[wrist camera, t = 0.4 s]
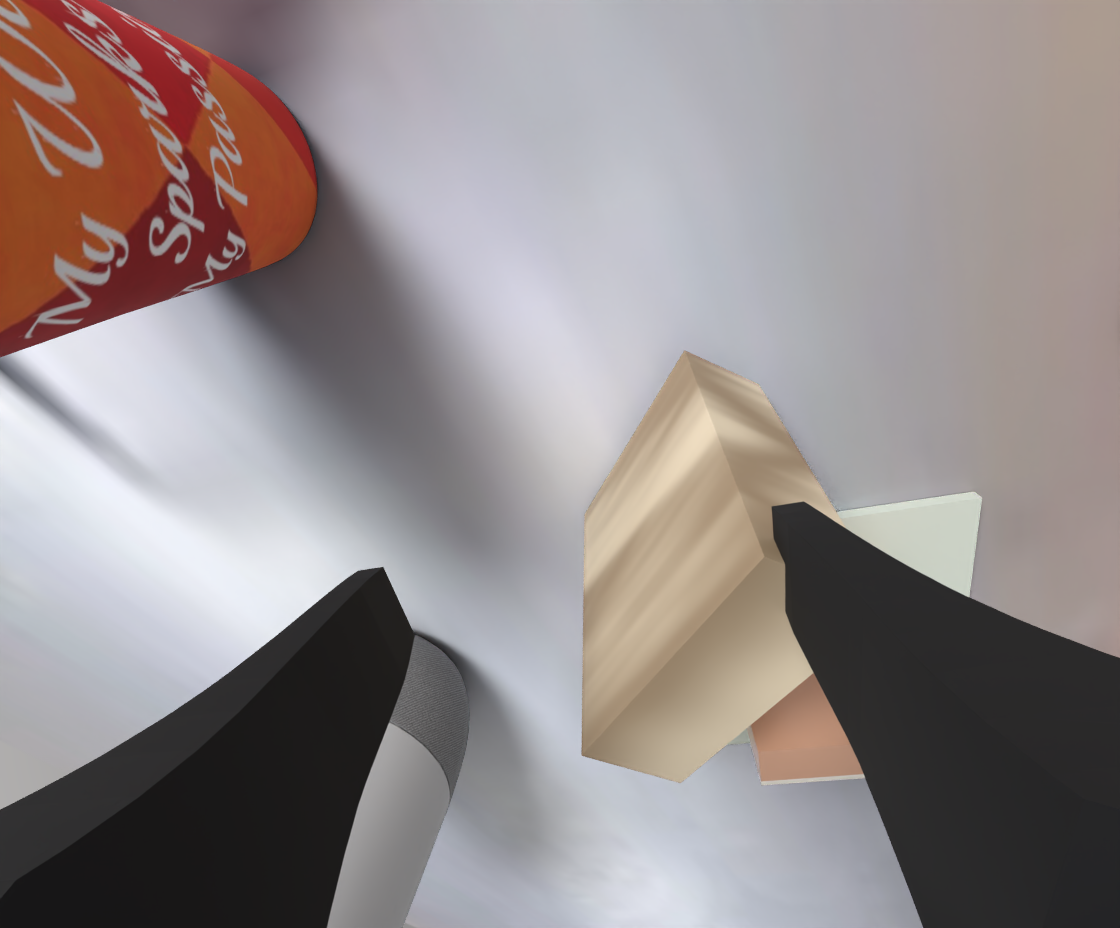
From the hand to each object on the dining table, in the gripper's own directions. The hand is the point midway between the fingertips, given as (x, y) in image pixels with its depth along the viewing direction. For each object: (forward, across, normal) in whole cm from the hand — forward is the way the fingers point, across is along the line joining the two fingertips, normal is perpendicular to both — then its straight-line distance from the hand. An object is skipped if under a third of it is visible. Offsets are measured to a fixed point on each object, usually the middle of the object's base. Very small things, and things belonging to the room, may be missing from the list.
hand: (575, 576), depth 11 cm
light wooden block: (+10, -3, +2) cm, 10 cm away
